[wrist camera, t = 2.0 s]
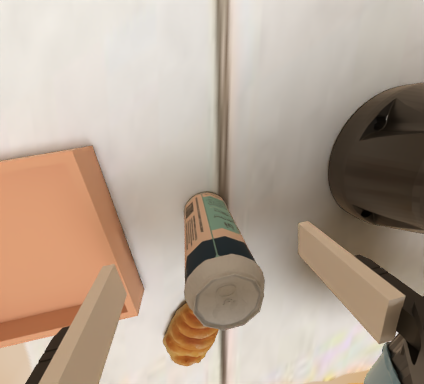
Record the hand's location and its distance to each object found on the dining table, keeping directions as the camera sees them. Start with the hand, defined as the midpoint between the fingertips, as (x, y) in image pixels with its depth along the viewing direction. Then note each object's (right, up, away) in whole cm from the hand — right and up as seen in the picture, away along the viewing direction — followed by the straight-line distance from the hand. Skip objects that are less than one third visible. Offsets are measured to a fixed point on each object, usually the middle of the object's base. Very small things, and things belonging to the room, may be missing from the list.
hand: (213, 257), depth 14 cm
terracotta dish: (-18, -1, +7) cm, 20 cm away
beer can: (-1, +3, +8) cm, 9 cm away
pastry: (-3, -13, +13) cm, 19 cm away
